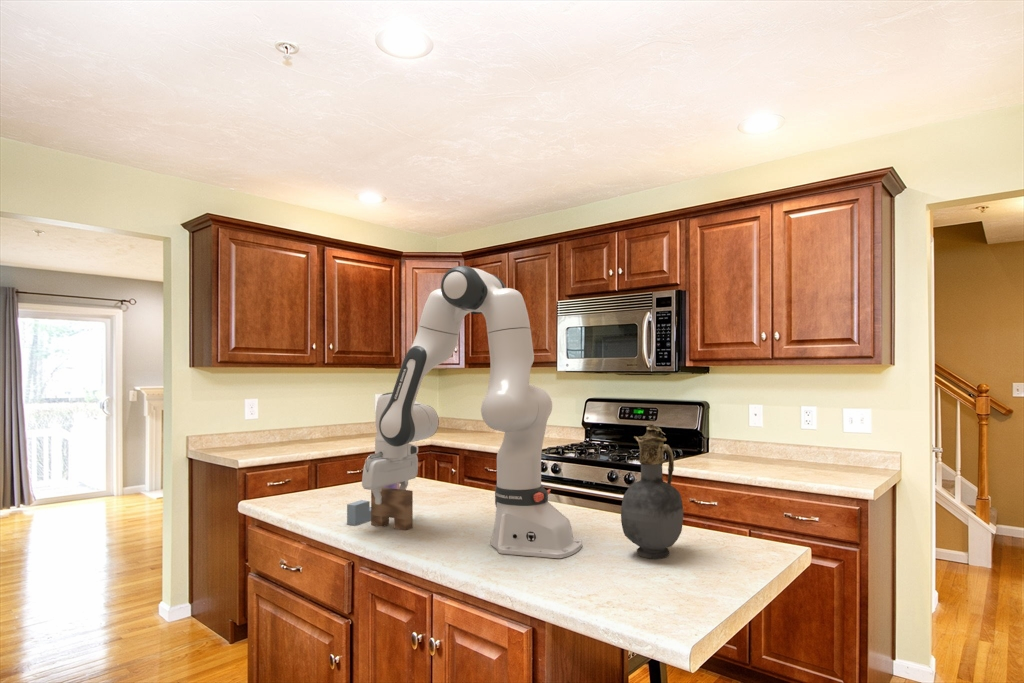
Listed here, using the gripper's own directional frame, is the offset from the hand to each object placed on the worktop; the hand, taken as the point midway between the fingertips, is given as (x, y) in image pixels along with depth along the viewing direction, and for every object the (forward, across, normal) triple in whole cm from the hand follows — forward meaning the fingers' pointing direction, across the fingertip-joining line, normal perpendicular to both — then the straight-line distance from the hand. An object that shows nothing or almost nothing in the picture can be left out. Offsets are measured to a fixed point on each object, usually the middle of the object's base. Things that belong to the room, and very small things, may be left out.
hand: (390, 500), depth 165 cm
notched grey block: (+7, +4, +10) cm, 13 cm away
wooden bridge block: (+7, 0, 0) cm, 7 cm away
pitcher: (+6, +9, -72) cm, 72 cm away
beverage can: (+8, +23, +18) cm, 30 cm away
